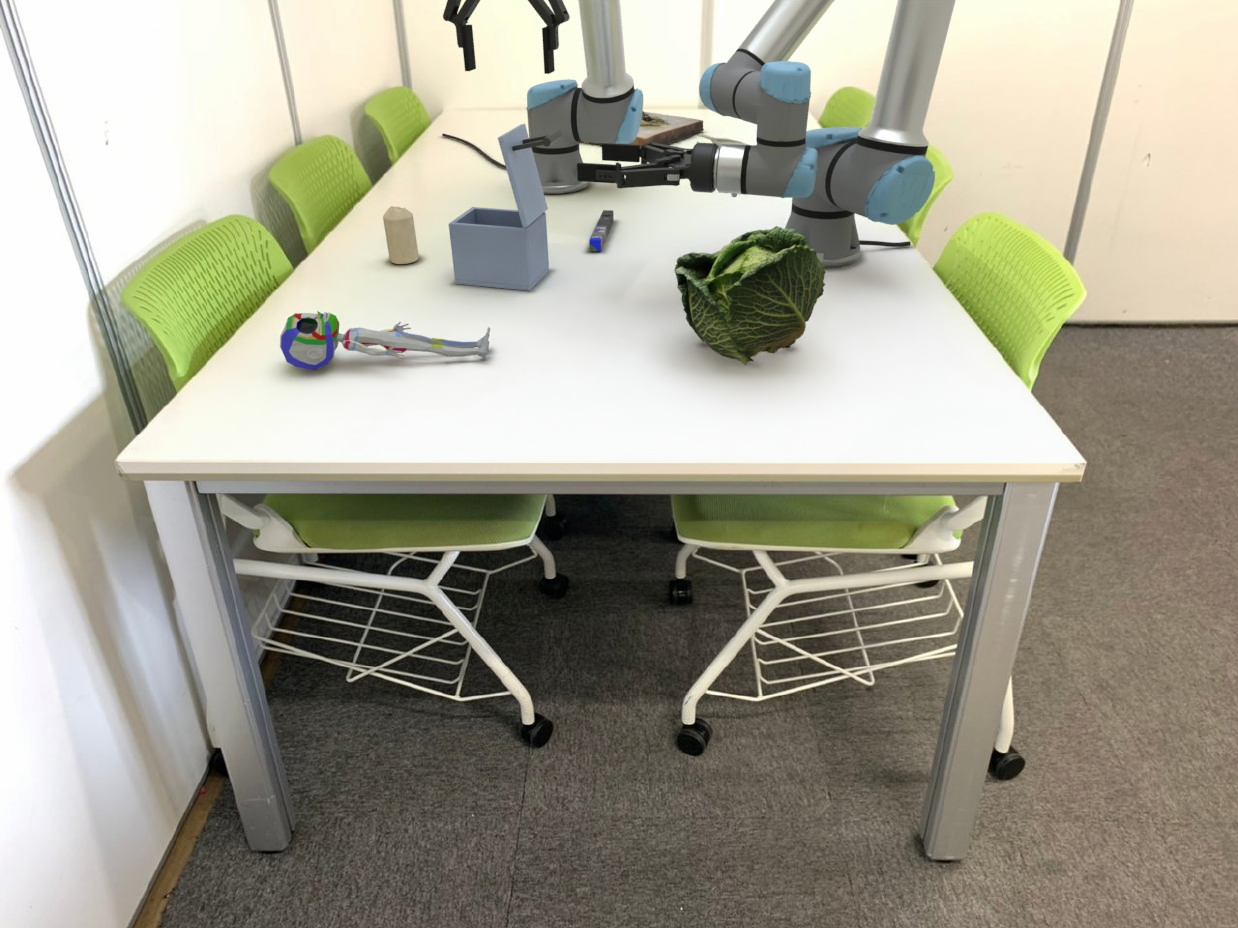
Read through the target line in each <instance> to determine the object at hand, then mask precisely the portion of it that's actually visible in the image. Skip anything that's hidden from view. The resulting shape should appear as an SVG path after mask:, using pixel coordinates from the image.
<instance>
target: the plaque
mask: <svg viewBox="0 0 1238 928" xmlns="http://www.w3.org/2000/svg"><path fill="white" fill-rule="evenodd" d="M704 130H705V129H704V120H702V119H698V118H693V117H685V116H679V115H669V114H663V113H659V112H650V111H644V110H643V111H642V118H641V124H640V128H639V132H638V135H637V137H636V139H635V140H634V141H633V142H632V143H629V144H630V145H640V147H641V145H643V144H647V143H648V142H654V143H659V144H664V145H670V144H672V143H676V142H680V141H682V140H684V139H687V138H691V137H692V136H694V135H696V134H699V133H700V132H704ZM584 143H586V144H593V145H597V146H598V145H599V146H602V143H591V142H584ZM610 144H613V143H610Z"/></svg>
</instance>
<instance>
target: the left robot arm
mask: <svg viewBox="0 0 1238 928" xmlns="http://www.w3.org/2000/svg"><path fill="white" fill-rule="evenodd" d="M527 1H528V3H529V4H530V6H532V8H533V9H534V10H535V12H536V13H537V15H538V16H539V17H540V18H541V20H542V21H543V22H544V24H545V25H546V26H544V27H542V28H541V34H542V37H541V38H542V53H543V71H544V72H543V74H544V75H550V74H551V73H554V72H555V70H556V69H555V51H557V50H558V49H559V47H560V39H559V38H560V37H559V36H560V35H559V26H560V25H561V24H564V23H567V22H569V20H570V17H571V16H570V14H569V12H568V9H567V7H566V5H565V2H564V0H547V1H548V3H549V5H550V6H549V5H548V3H547V2H546V0H527ZM577 1H578V2H577V3H578V10H579V17H580V19H579V20H580V27H581V36H582V42H583V43H582V44H583V51H584V52H583V53H584V60H585V62H584V63H585V70H586V77H585V79H584V80H583V81H582V83H581V87H579V84H578V82H577V80H576V79H569V78H567V79H558V80H552V81H546V82H541V83H538V84H535V85H532V86H531V87H530V88H529V89H528V90H527V93H526V109H525V110H526V113H527V127H528V137H529V138H534V137H539V136H544V135H549V134H551V133H553V132H555V131H556V130H559V131H560V132H561V133H562V137H561V138H560V139H559V140H557V141H556V142H554V143H553V144H551V145H550V146H548V147H545V146H544V145H541V146H536V147H531V148H532V152H533V155H534V159H535V163H536V167H537V170H538V174H539V178H540V182H541V185H542V189H543V193H544V195H562V194H570V193H576V192H579V191H583V190H584V189H586V188H587V187H589V182H584V181H578V180H577V163H584V161H583V158H582V156H581V153H580V143H585V142H591V143H590V144H592V143H613V144H629V143H632V142H633V141H634V140H635V139H636V137H637V135H638V132H639V128H640V124H641V118H642V111H644V94H643V90H642V89H639V88H638V87H637V88H635V83H634V82H635V81H634V78H633V76H631V75H630V74H629V73H628V72H627V70H626V68H627V67H626V58H625V45H624V34H623V22H622V8H621V0H577ZM480 2H481V0H464V2H463V4H462V6H461V3H462V0H446V4H445V7H444V11H443V13H442V18H443V20H444V21H445V22H449V23H451V24H453V25H454V27H455V35H456V43H457V46H458V48H459V49H462V54H463V65H464V72H471V71H473V70H476V69H477V64H476V63H477V62H476V54H475V42H474V41H475V39H474V31H473V24H469V19H470V18H471V16H472V15H473V13H474V12H475V10H476V9H477V7H478V5H479V4H480ZM460 6H461V7H460ZM441 137H445V138H448V139H451V140H456V141H458V142H462V143H463V144H465V145H468V146H470V147H471V148H473V149H474V150H475V151H478V153H479V154H481V155H482V156H483V157H484V158H486V159H487V160H488V161H490V162H491V163H493V164H495V165H496V166H498V167H500V168H502V169H505V170H507V169H506V166H505V164H503V163H500V162H499V161H497V160H495V159H493V157H491V156H490V155H488V154H487V153H486V152H484V151H483V150H482V149H480V147H478V146H476V145H475V144H474V143H471V142H470V141H468V140H465V139H463V138H460V137H458V136H455V135H451V134H447V133H442V134H441Z"/></svg>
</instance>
